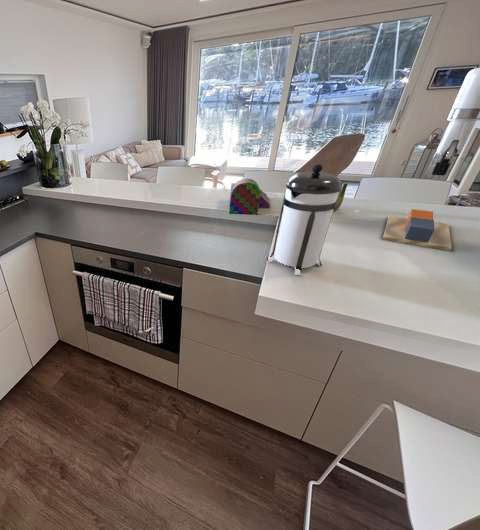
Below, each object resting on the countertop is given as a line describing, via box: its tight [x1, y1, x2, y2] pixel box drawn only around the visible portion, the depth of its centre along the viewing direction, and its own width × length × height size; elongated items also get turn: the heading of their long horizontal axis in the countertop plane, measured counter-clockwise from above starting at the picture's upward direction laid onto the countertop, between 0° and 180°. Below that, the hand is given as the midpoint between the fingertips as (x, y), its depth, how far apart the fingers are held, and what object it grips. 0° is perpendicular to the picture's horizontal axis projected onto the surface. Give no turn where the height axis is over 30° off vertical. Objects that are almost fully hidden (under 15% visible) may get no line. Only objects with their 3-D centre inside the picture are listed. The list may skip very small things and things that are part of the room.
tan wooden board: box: [382, 215, 453, 252], centre depth 99 cm, size 16×22×1 cm
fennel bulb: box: [334, 181, 349, 211], centre depth 120 cm, size 6×5×12 cm
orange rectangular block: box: [405, 208, 434, 229], centre depth 100 cm, size 6×9×4 cm, turn 138°
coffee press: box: [266, 163, 343, 271], centre depth 82 cm, size 17×16×30 cm
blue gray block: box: [405, 217, 435, 243], centre depth 94 cm, size 6×9×4 cm, turn 138°
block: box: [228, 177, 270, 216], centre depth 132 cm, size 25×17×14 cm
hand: (438, 174), depth 98 cm, fingers closed
